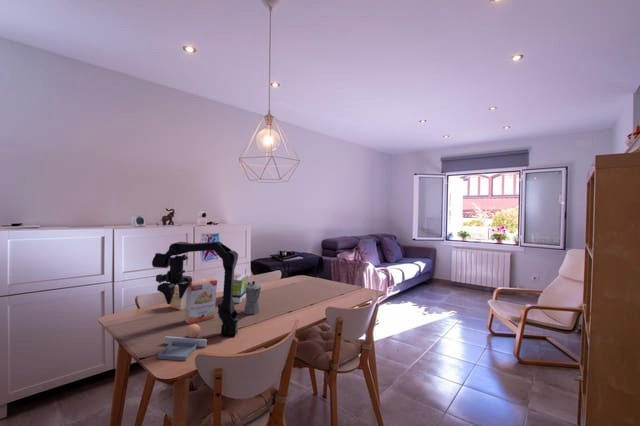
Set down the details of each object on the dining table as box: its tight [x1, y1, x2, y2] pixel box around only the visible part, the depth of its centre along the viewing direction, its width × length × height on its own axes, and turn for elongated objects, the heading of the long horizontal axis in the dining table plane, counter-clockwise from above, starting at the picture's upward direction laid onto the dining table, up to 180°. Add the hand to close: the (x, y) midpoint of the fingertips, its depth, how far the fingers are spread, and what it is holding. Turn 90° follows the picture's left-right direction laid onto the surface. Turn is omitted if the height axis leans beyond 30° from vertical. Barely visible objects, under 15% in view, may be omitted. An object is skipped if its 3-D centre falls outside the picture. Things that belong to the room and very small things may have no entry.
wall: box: [164, 335, 208, 348], centre depth 128 cm, size 18×1×3 cm, turn 90°
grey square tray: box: [157, 342, 198, 361], centre depth 122 cm, size 11×11×2 cm
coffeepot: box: [243, 281, 262, 315], centre depth 172 cm, size 15×9×18 cm, turn 33°
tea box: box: [232, 273, 249, 304], centre depth 191 cm, size 15×10×15 cm
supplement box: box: [169, 285, 187, 311], centre depth 169 cm, size 8×5×13 cm, turn 69°
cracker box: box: [183, 277, 218, 325], centre depth 155 cm, size 14×6×21 cm, turn 138°
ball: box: [185, 323, 201, 339], centre depth 136 cm, size 6×6×6 cm
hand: (174, 301), depth 141 cm, fingers open, 9 cm apart
